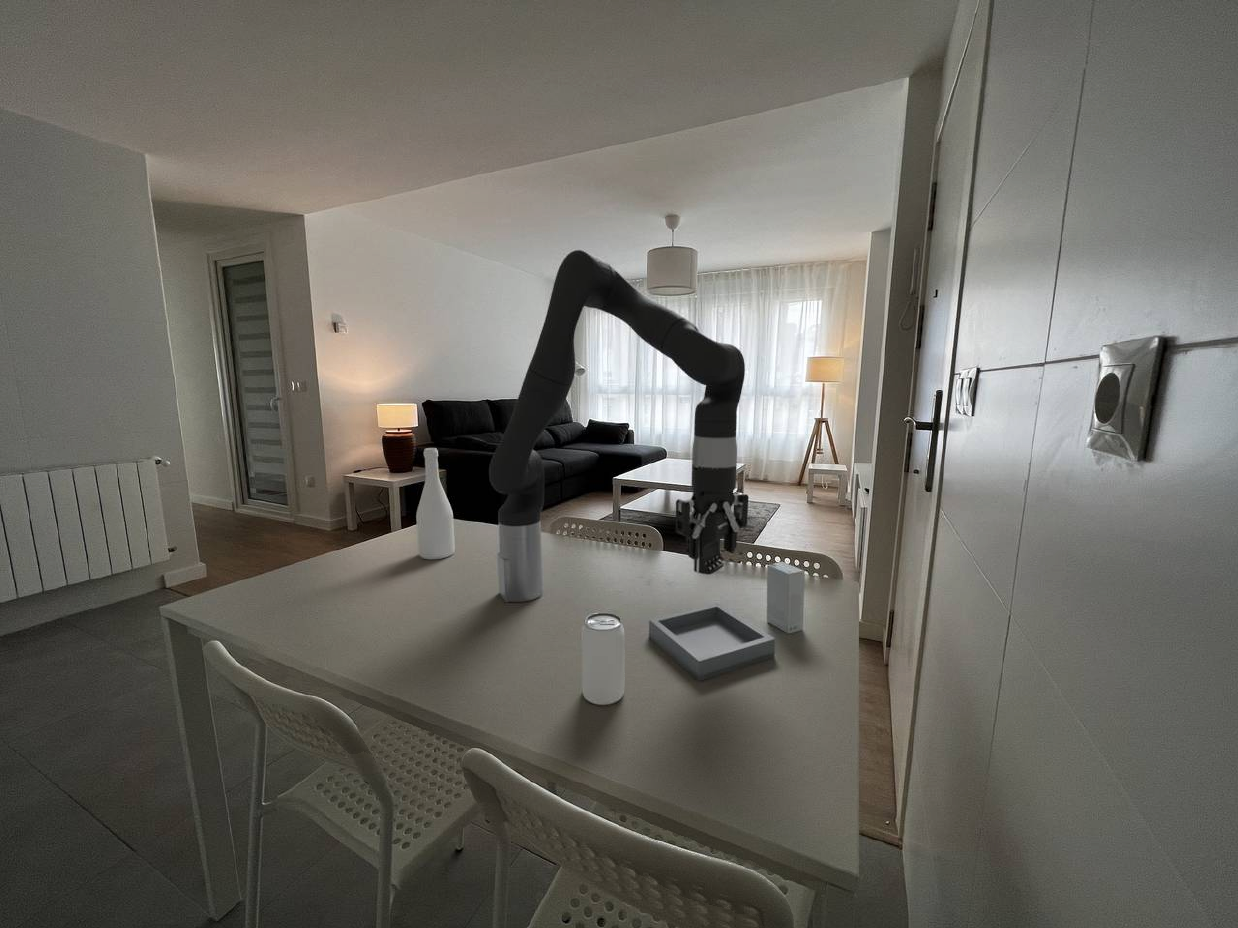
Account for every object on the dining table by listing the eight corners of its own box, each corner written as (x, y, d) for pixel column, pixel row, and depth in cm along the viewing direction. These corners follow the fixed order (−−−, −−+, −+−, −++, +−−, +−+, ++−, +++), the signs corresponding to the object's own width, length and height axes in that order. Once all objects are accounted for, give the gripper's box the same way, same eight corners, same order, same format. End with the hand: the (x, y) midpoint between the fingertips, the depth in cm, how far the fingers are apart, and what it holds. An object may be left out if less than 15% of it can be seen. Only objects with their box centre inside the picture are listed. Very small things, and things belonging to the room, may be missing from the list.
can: (582, 682, 80) (581, 611, 78) (622, 680, 81) (622, 610, 79) (582, 708, 74) (581, 632, 72) (626, 705, 74) (626, 630, 72)
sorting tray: (698, 681, 80) (699, 661, 80) (648, 636, 94) (649, 619, 94) (774, 657, 87) (775, 638, 87) (717, 619, 101) (717, 603, 101)
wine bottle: (421, 550, 144) (414, 447, 139) (456, 547, 146) (450, 446, 141) (416, 561, 135) (409, 451, 130) (453, 558, 137) (447, 450, 132)
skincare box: (803, 630, 97) (807, 570, 95) (786, 635, 95) (789, 574, 93) (780, 616, 102) (783, 560, 100) (764, 621, 100) (766, 563, 99)
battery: (712, 578, 85) (714, 513, 83) (692, 573, 87) (693, 509, 85) (730, 566, 90) (732, 505, 88) (711, 562, 92) (712, 501, 91)
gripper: (733, 456, 92) (730, 542, 95) (666, 462, 86) (665, 554, 88) (761, 462, 85) (757, 554, 88) (692, 468, 79) (689, 567, 82)
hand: (711, 554), depth 88 cm, fingers closed on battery, 7 cm apart
